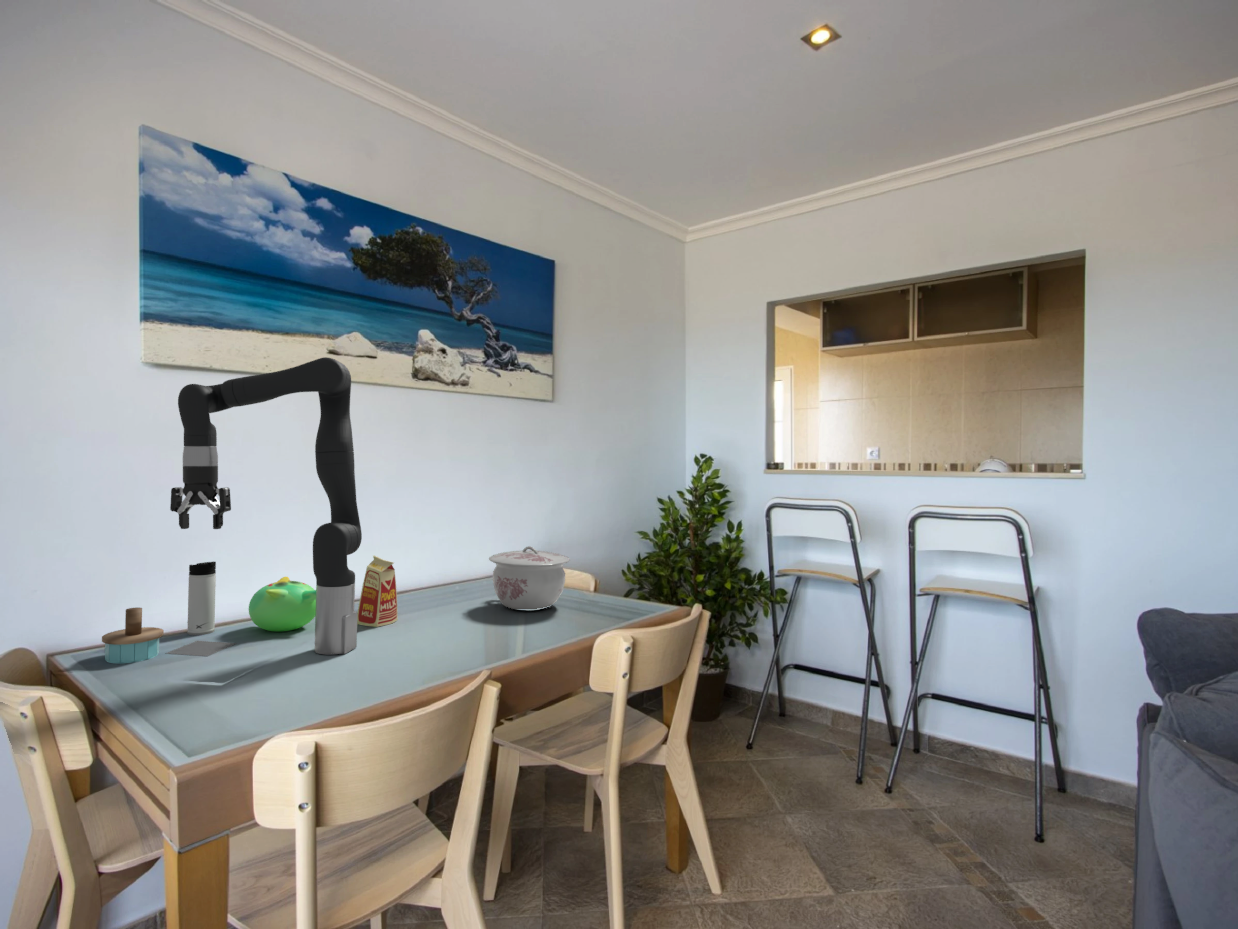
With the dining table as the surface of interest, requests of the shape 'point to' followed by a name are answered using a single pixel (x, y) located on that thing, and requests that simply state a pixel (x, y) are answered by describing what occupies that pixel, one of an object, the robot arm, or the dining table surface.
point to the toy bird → (283, 605)
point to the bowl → (131, 652)
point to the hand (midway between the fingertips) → (200, 528)
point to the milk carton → (378, 595)
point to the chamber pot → (528, 578)
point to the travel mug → (201, 598)
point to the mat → (201, 648)
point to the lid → (133, 630)
